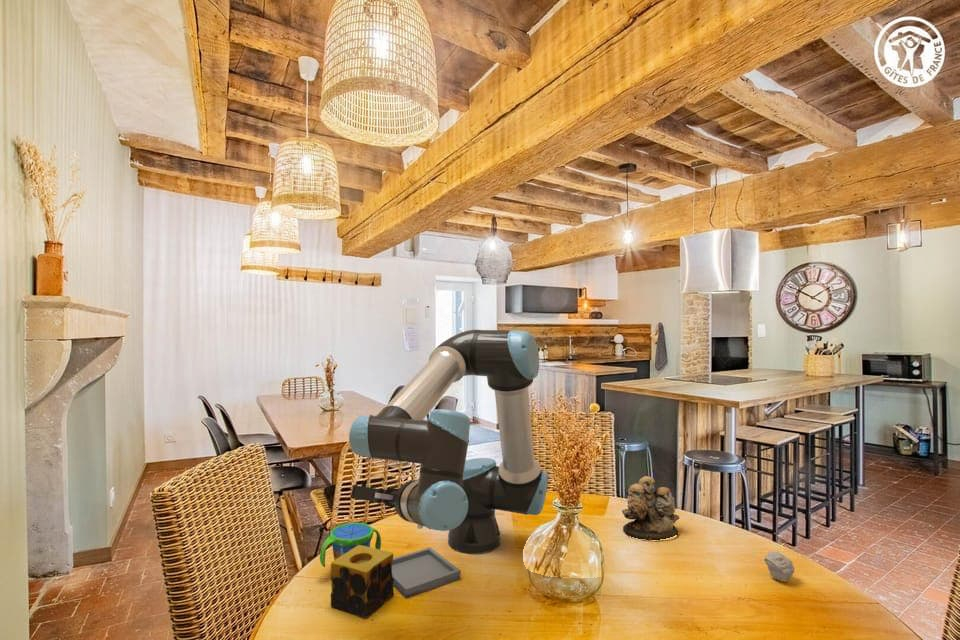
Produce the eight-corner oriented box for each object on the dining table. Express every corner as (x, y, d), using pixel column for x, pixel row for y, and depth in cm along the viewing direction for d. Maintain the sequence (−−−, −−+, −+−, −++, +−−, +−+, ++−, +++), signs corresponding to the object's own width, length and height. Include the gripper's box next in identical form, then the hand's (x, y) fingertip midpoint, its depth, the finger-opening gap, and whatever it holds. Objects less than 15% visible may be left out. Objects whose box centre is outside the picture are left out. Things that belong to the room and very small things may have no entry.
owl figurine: (632, 544, 138) (632, 484, 139) (613, 527, 150) (613, 472, 150) (687, 539, 142) (687, 481, 142) (665, 523, 153) (665, 470, 154)
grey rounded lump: (757, 575, 122) (758, 548, 122) (780, 572, 123) (780, 545, 123) (778, 588, 116) (778, 559, 116) (801, 585, 117) (801, 556, 117)
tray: (429, 554, 130) (429, 547, 130) (460, 578, 117) (460, 570, 118) (378, 570, 121) (378, 562, 121) (405, 598, 109) (406, 589, 109)
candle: (394, 596, 110) (395, 552, 110) (366, 620, 100) (367, 572, 101) (359, 585, 114) (359, 543, 114) (329, 607, 105) (330, 561, 105)
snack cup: (373, 554, 129) (373, 517, 129) (388, 572, 120) (389, 531, 120) (313, 570, 120) (314, 529, 120) (325, 590, 111) (326, 546, 112)
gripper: (347, 514, 83) (329, 506, 101) (476, 531, 92) (438, 521, 110) (357, 470, 86) (338, 470, 104) (482, 490, 94) (444, 487, 113)
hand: (390, 496), depth 107 cm, fingers open, 13 cm apart
